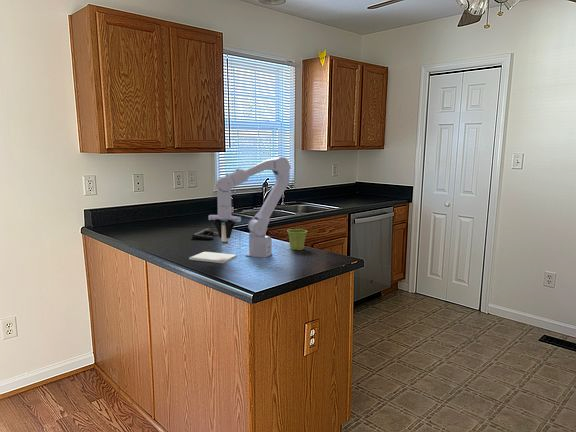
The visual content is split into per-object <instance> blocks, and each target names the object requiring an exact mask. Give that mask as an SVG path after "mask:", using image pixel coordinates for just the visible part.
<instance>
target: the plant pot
mask: <svg viewBox="0 0 576 432" xmlns="http://www.w3.org/2000/svg"><path fill="white" fill-rule="evenodd" d="M286 232H287V235H288V239H289V247H290V248H289V249H290V250H293V251H296V250H297V251H301V250H304V248H305V247H304V246H305V241H306V235H307V233H308V230H306V229H303V228H302V229H301V228H293V229H292V228H290V229H287V231H286Z"/></svg>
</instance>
